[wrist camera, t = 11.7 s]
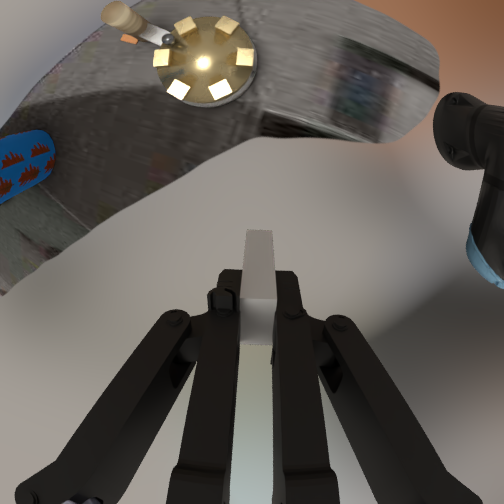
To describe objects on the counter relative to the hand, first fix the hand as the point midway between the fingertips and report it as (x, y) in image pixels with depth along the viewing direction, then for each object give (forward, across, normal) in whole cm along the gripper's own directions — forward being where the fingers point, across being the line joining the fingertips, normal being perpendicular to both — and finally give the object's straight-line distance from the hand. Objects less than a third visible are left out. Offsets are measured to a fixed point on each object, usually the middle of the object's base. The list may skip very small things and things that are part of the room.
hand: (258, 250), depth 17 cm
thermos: (+28, -43, +4) cm, 52 cm away
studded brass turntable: (+28, -11, +18) cm, 35 cm away
